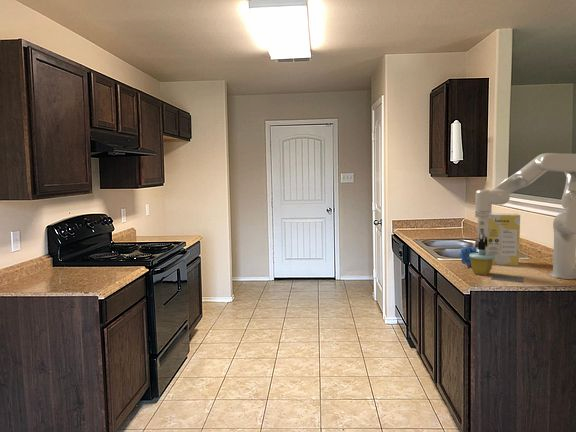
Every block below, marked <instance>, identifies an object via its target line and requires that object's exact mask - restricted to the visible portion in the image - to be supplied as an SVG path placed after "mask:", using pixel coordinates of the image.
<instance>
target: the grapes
mask: <svg viewBox="0 0 576 432" xmlns="http://www.w3.org/2000/svg"><path fill="white" fill-rule="evenodd" d="M460 252H461V253H459V254H458V257H459V258H460V259H461V263H462V264H463V265H466V267H468V268H472V267H471V258H470V257H469V254H471V253H479V251H477V247H475V246H473V247H471V246H470V245H466V246H465V247H461V248H460Z"/></svg>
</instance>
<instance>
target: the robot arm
mask: <svg viewBox="0 0 576 432" xmlns="http://www.w3.org/2000/svg"><path fill="white" fill-rule="evenodd" d="M547 172H560V173H561V172H563V173H564V174H565V178H566V179H565V185H564V189H563V193H562V196H561V201H560V203H561V206H562V208H563V209H565V210H566V211H565V212H561V213H559V214H557V215H556V216H555V217H554V219H553V224H552V227H553V254H552V255H553V258H552V271H550V272H549V273H548V275H549V276H550V277H553V278H556V279H563V280H576V153H558V152H557V153H554V152H546V153H545V152H544V153H541V154H537V156H535V157H534V158H533V159H531V160H530V161H529V162H528V163H527V164H526V165H524V166H523V167H522V168H520V169H518V171H516V172H515V173H513V174H511V175H510V176H509V177H508V178H505V179H504V180H503V181H502V182H500V183H499V184H497V186H495V187H494V188H492V189H491V190H490V189H478V190H476V191H475V199H474V200H475V201H474V202H475V206H474V207H475V209H474V210H475V211H474V217H475V219H476V218H477V237H478V242H477V243H478V245H477V246H478V247H477V249H478V251H479V250H485V245H486V247H487V238H488V237H489V236H490V221H489V218H491V213H492V204H493V205H499V206H501V205H505V204H507V203H508V202H509V200H511V198H510V197H511V196H510V195H511V194H513V193H514V192H515V191H518V190H520V189H523V188H526V187H528V186H529V185H532V183H534V182H535V181H537V179H539V178H540V177H541V176H543V175H544V174H546V173H547Z"/></svg>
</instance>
